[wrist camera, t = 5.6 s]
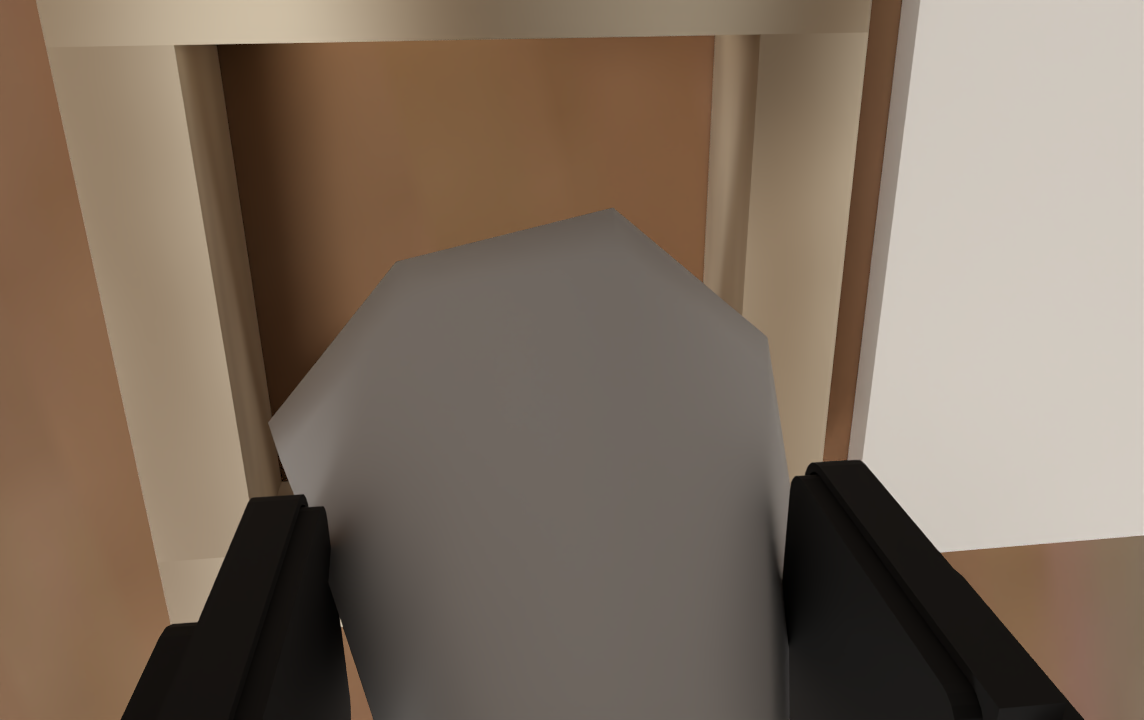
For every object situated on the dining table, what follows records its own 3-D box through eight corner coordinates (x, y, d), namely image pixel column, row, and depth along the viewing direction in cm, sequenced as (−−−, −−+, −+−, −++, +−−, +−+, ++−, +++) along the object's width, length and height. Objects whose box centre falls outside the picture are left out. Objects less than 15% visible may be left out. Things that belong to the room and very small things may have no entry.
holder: (817, -83, 19) (882, -92, 16) (767, 515, 24) (809, 586, 21) (85, -79, 17) (16, -90, 14) (207, 559, 23) (174, 641, 20)
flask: (864, 513, 14) (1575, 1446, 5) (472, 733, 15) (483, 1886, 6) (635, 105, 12) (1254, 526, 3) (174, 397, 13) (-640, 1538, 3)
